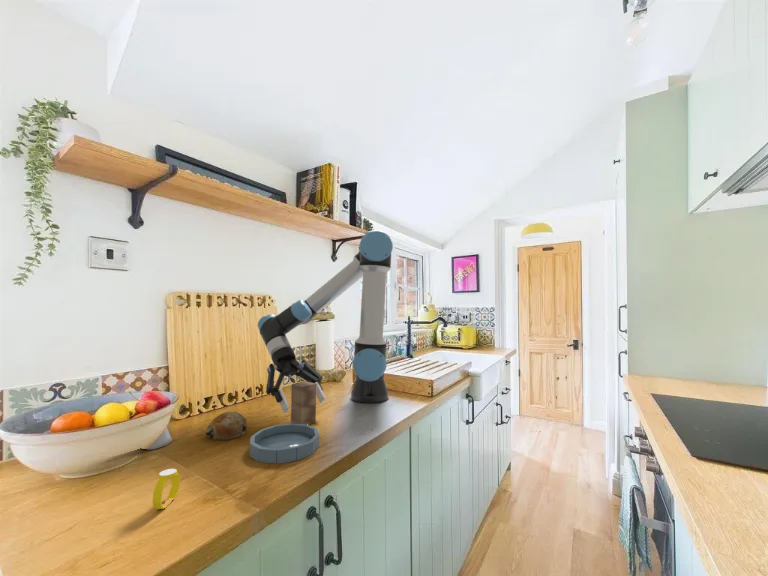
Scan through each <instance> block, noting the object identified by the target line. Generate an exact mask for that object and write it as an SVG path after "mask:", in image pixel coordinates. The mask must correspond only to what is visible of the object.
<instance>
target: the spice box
mask: <svg viewBox="0 0 768 576" xmlns="http://www.w3.org/2000/svg"><path fill="white" fill-rule="evenodd" d="M290 398H291V399H290V404H291V405H290V424H291V423H292V424H293V423H294V424H308V425H310V424H314V423H316V422H317V420H316V419H317V415H316V414H317V412H316V411H317V395H316V384H315V383H311V382H308V381H306V380H305V381H299V382H296V383H291V397H290Z"/></svg>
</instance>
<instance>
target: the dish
mask: <svg viewBox="0 0 768 576" xmlns="http://www.w3.org/2000/svg"><path fill="white" fill-rule="evenodd" d="M249 439H250V440H249V441H250V442H249V457H250V456H251V457H250V458H252V459H254V460H255V461H257V462H258V461H259V463H267V464H284V463H291V462H296V461H300V460H302V459H304V458H307V457H309V456H312V455H313V454H314V453H315V452H316V451H317V449H319V447H320V433H319V430H318V428H317V427H314V426H312V425H310V424H308V425H307V424H294V423H291V422H290V423H284V424H282V423H281V424H274V425H273V426H268V427H265V428H263V429H259V430H258V431H257V432H255V433H254V434H253V435H251V436H250V438H249Z"/></svg>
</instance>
